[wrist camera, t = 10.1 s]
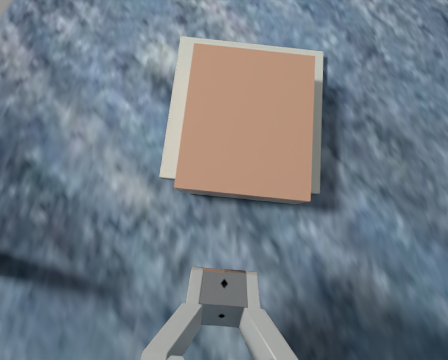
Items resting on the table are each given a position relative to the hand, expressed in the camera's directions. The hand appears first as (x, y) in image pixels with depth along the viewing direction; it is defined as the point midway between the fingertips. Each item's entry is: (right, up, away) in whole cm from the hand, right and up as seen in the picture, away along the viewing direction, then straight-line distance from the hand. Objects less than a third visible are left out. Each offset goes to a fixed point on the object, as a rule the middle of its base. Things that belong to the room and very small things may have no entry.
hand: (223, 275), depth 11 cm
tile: (+1, +3, +7) cm, 8 cm away
